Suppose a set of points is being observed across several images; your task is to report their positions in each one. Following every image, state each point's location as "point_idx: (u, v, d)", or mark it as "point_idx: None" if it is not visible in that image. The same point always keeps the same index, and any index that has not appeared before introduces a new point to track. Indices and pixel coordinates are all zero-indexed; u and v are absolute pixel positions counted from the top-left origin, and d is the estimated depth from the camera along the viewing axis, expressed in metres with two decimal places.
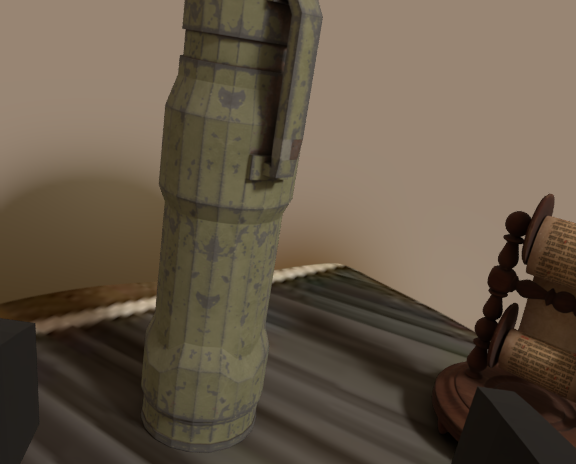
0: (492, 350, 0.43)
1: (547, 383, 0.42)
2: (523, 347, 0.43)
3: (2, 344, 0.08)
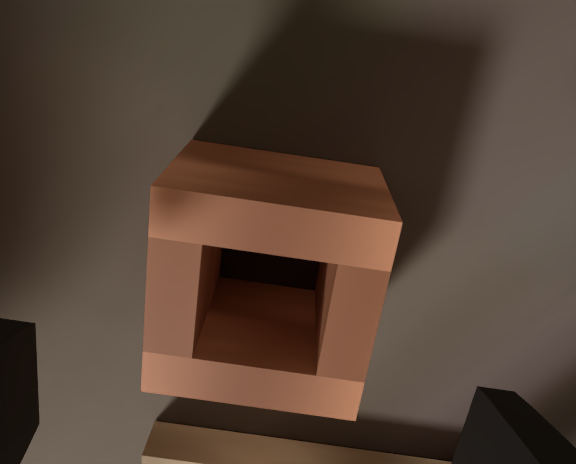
0: None
1: None
2: None
3: (2, 344, 0.08)
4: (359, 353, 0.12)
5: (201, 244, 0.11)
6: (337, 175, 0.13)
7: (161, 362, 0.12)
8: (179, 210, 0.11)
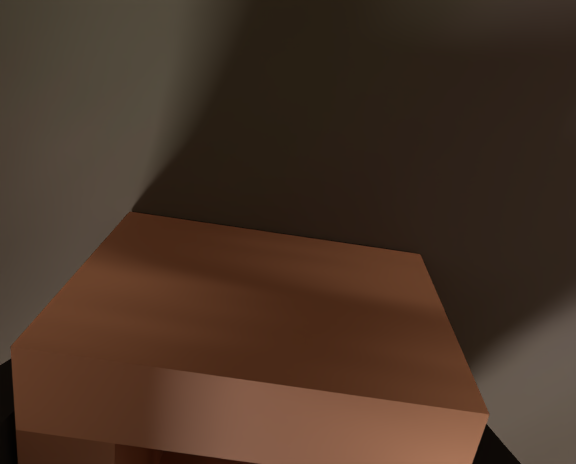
0: None
1: None
2: None
3: None
4: None
5: (113, 444, 0.06)
6: (358, 279, 0.08)
7: None
8: (68, 388, 0.06)
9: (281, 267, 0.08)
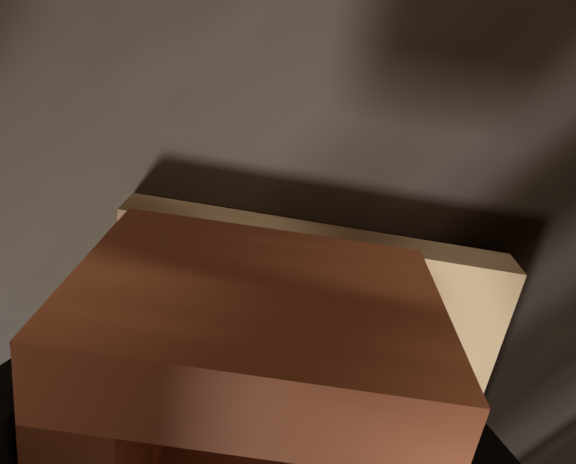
0: None
1: None
2: None
3: None
4: None
5: (113, 439, 0.06)
6: (359, 275, 0.08)
7: None
8: (68, 383, 0.06)
9: (281, 263, 0.08)
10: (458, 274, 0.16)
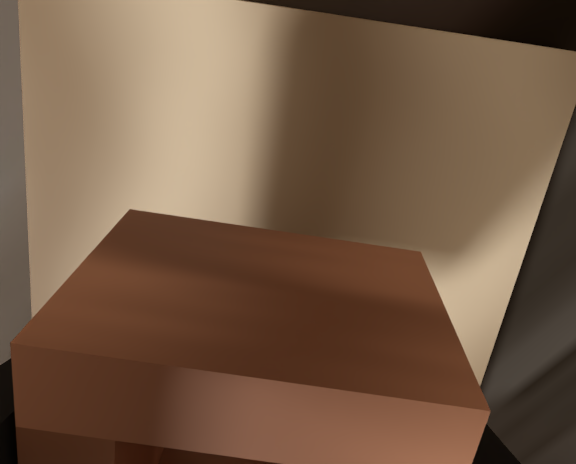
0: None
1: None
2: None
3: None
4: None
5: (113, 440, 0.06)
6: (358, 276, 0.08)
7: None
8: (68, 385, 0.06)
9: (282, 264, 0.08)
10: (496, 56, 0.12)
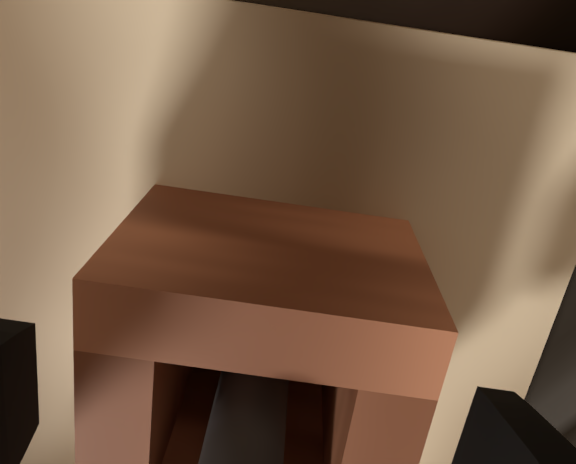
0: None
1: None
2: None
3: (2, 344, 0.08)
4: None
5: (153, 361, 0.07)
6: (353, 238, 0.10)
7: None
8: (117, 313, 0.07)
9: (288, 228, 0.10)
10: (535, 67, 0.10)
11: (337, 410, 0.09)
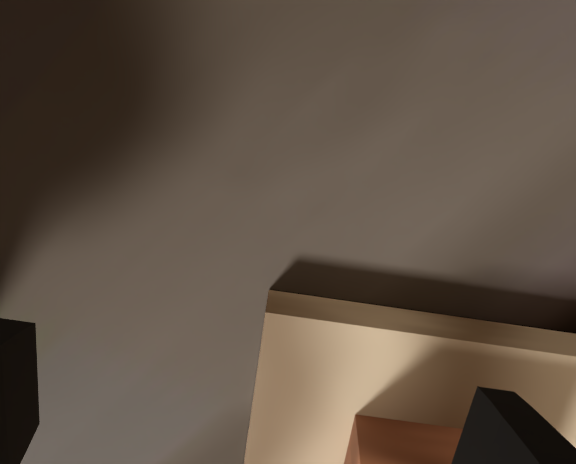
0: None
1: None
2: None
3: (2, 344, 0.08)
4: None
5: None
6: None
7: None
8: None
9: (440, 452, 0.18)
10: (573, 365, 0.18)
11: None
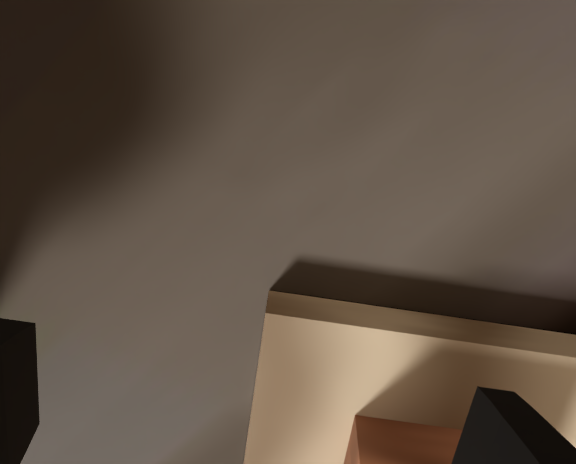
0: None
1: None
2: None
3: (2, 344, 0.08)
4: None
5: None
6: None
7: None
8: None
9: (439, 453, 0.18)
10: (573, 366, 0.18)
11: None
